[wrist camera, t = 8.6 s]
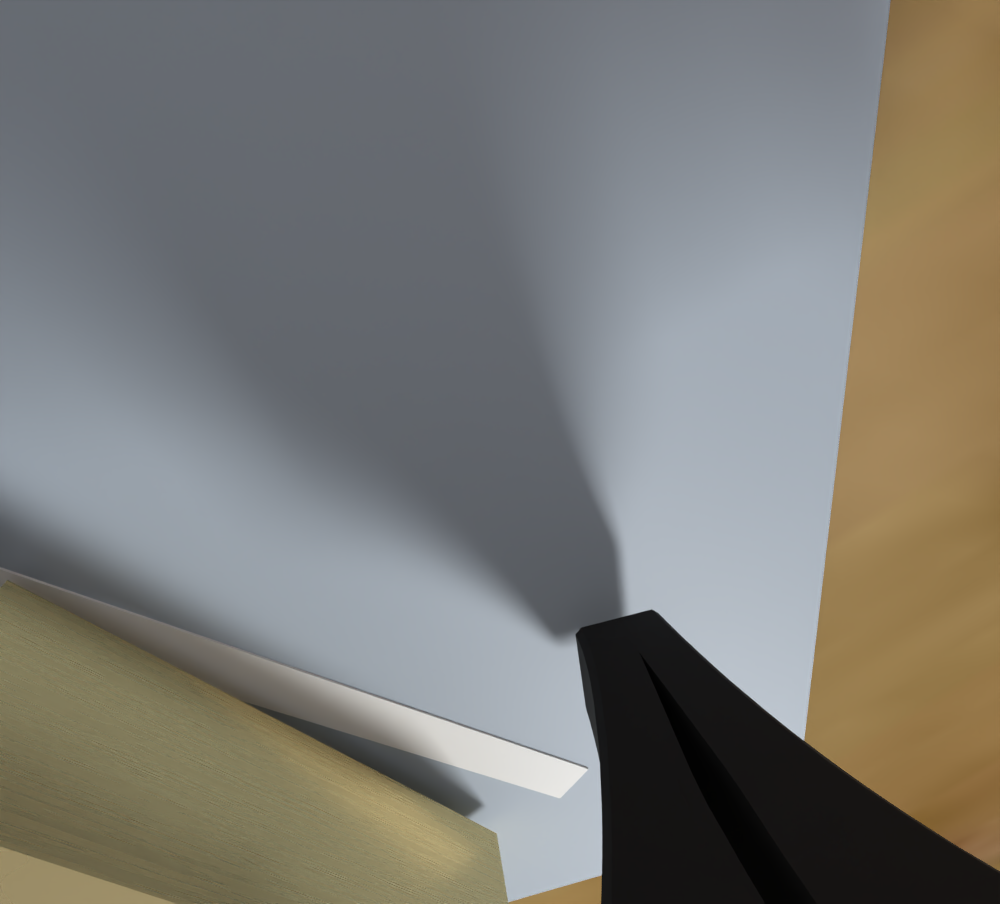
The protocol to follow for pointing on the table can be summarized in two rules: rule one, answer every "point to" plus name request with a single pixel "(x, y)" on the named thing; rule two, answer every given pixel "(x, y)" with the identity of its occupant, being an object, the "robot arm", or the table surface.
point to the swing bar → (196, 790)
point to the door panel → (433, 357)
